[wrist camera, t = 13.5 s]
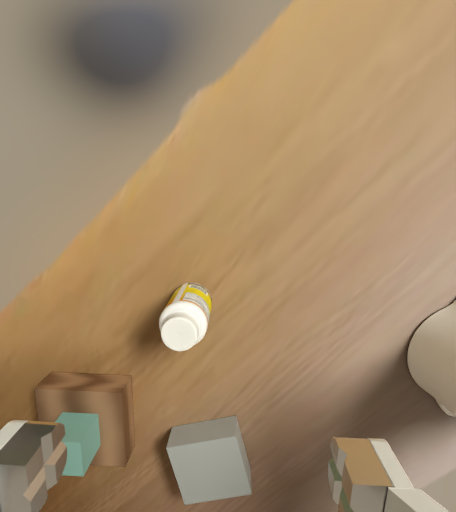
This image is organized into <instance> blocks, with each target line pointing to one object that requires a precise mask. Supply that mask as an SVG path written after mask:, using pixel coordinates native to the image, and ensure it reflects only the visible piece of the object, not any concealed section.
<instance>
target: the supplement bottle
mask: <svg viewBox="0 0 456 512" xmlns="http://www.w3.org/2000/svg"><path fill="white" fill-rule="evenodd" d="M211 308H212V298H211V295H210V293H209V292H208V290H207V289H206V288H205V287H203V286H202V285H200V284H197V283H186V284H183V285H181V286H180V287H178V288H177V289H176V290H175V292H174V293H173V295H172V297H171V298H170V300H169V302H168V303H167V305H166V307H165V308H164V310H163V312H162V313H161V316H160V319H159V328H160V332H161V337H162V340H163V342H164V344H165V345H166V346H167V347H169V348H170V349H172V350H175V351H185V350H188V349H190V348H191V347H192V346H193V345H195V344H197V343H198V342H199V341H201V339H202V338H203V337H204V335H205V333H206V330H207V326H208V321H209V317H210V312H211Z"/></svg>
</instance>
